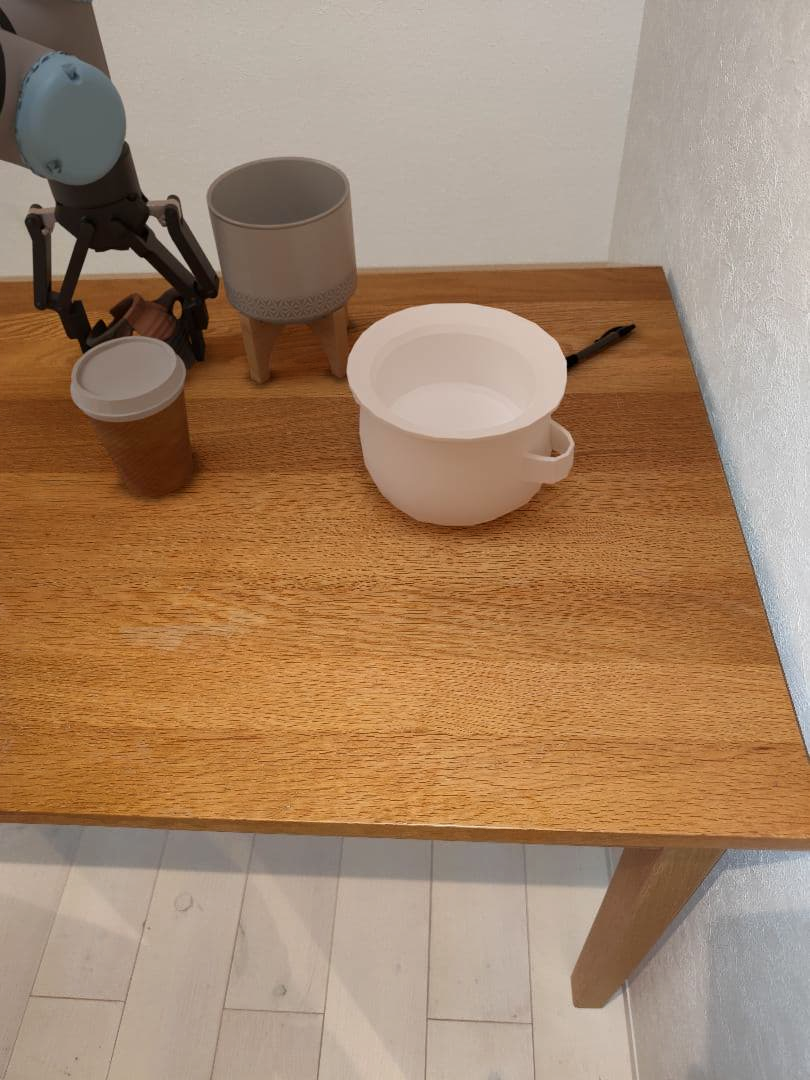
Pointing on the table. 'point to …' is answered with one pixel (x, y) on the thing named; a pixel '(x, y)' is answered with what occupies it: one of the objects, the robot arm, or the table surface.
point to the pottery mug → (148, 324)
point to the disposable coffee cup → (137, 410)
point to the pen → (600, 343)
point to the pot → (459, 411)
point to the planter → (286, 253)
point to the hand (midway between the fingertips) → (147, 357)
